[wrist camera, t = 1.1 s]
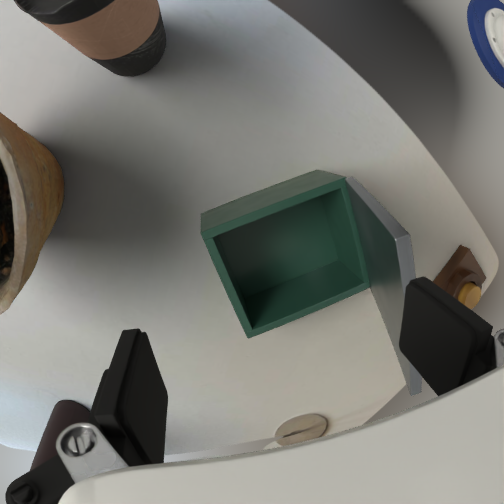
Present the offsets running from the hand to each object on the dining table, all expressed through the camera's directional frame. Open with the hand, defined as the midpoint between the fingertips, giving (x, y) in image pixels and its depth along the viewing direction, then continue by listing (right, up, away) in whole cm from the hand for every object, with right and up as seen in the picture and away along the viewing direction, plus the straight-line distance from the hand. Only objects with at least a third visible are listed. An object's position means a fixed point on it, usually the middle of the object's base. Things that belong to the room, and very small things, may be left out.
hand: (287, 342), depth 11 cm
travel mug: (-14, +25, +17) cm, 33 cm away
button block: (+30, -2, +33) cm, 44 cm away
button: (+30, -3, +29) cm, 42 cm away
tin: (+2, +5, +26) cm, 26 cm away
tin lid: (+8, +1, +12) cm, 14 cm away
